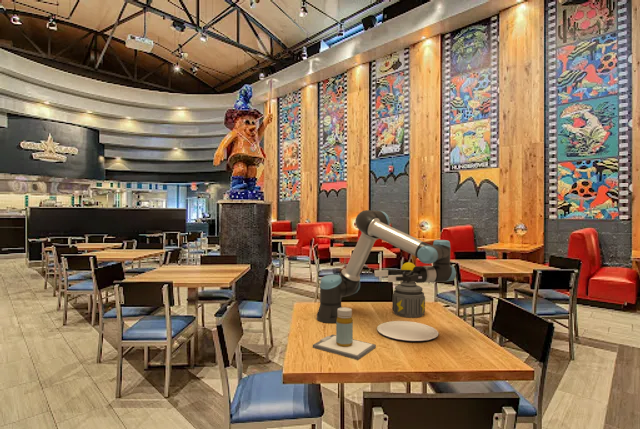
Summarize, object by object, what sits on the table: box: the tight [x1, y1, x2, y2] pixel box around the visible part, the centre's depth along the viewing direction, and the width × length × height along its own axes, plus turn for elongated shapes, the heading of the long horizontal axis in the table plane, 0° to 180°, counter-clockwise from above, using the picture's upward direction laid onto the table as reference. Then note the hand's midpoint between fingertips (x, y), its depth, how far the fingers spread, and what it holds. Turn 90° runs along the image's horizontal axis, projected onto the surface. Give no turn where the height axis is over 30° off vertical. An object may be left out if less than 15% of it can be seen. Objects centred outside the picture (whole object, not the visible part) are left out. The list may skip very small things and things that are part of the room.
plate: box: [376, 320, 439, 342], centre depth 168 cm, size 29×29×2 cm
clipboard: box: [312, 334, 377, 361], centre depth 148 cm, size 22×16×2 cm
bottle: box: [335, 307, 354, 347], centre depth 148 cm, size 7×7×15 cm
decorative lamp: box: [391, 262, 426, 319], centre depth 201 cm, size 19×19×30 cm
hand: (381, 276), depth 153 cm, fingers open, 13 cm apart
